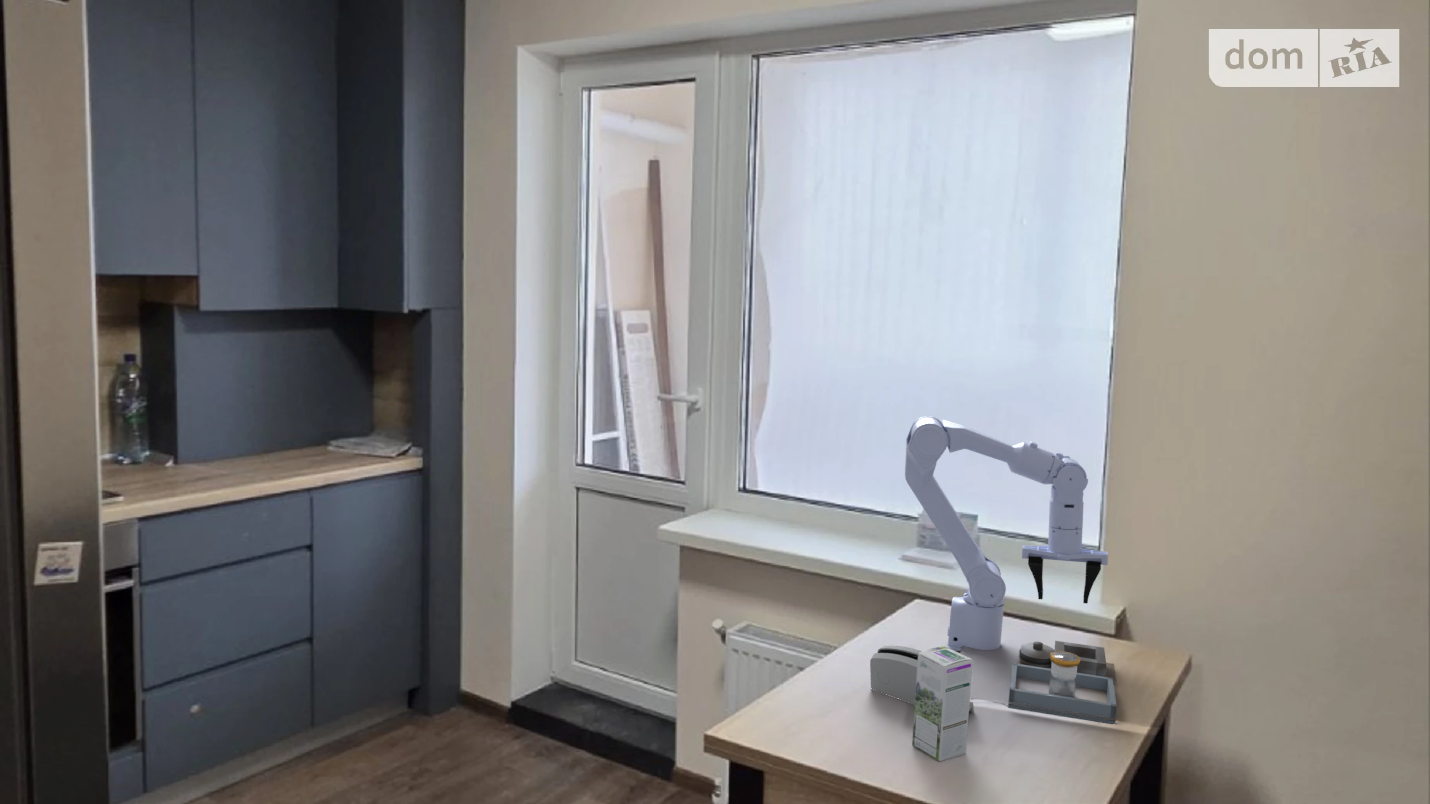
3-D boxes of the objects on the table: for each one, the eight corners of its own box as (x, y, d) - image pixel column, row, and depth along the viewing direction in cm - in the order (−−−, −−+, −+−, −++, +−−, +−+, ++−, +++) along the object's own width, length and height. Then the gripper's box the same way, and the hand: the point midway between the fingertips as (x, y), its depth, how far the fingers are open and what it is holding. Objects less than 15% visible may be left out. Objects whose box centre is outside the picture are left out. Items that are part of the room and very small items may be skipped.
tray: (1008, 707, 172) (1009, 689, 172) (1010, 679, 183) (1012, 663, 183) (1114, 724, 168) (1116, 706, 167) (1110, 695, 179) (1112, 678, 178)
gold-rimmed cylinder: (1046, 700, 174) (1050, 659, 173) (1046, 689, 179) (1050, 649, 178) (1076, 705, 173) (1080, 663, 172) (1076, 694, 177) (1079, 653, 176)
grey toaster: (976, 712, 170) (970, 660, 166) (961, 730, 167) (955, 678, 163) (886, 680, 181) (879, 631, 177) (870, 697, 178) (862, 647, 174)
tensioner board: (1017, 675, 186) (1019, 650, 185) (1019, 655, 195) (1021, 631, 194) (1116, 690, 181) (1118, 664, 180) (1113, 669, 190) (1115, 644, 190)
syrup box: (967, 754, 155) (975, 657, 153) (937, 763, 152) (945, 664, 150) (939, 738, 160) (946, 644, 158) (909, 746, 157) (916, 651, 155)
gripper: (1022, 528, 191) (1019, 602, 193) (1109, 534, 187) (1106, 610, 188) (1024, 519, 198) (1022, 590, 200) (1108, 524, 193) (1105, 598, 195)
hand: (1062, 599), depth 195 cm, fingers open, 7 cm apart
